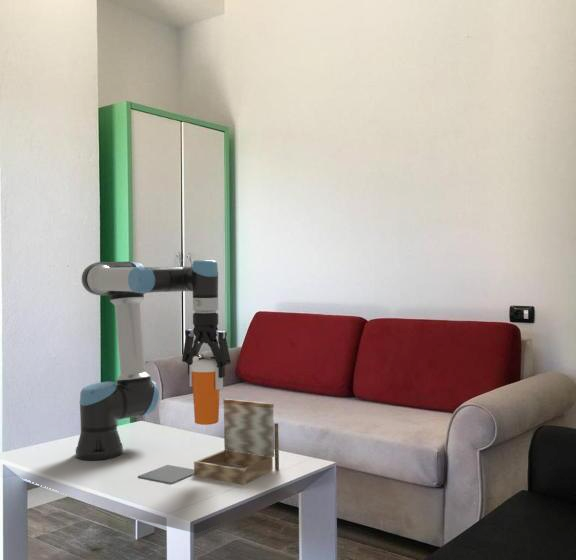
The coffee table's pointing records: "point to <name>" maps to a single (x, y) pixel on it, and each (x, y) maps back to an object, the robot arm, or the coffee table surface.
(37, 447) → the coffee table surface
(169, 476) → the slate coaster
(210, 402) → the shaker bottle
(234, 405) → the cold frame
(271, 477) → the coffee table surface
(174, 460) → the coffee table surface
